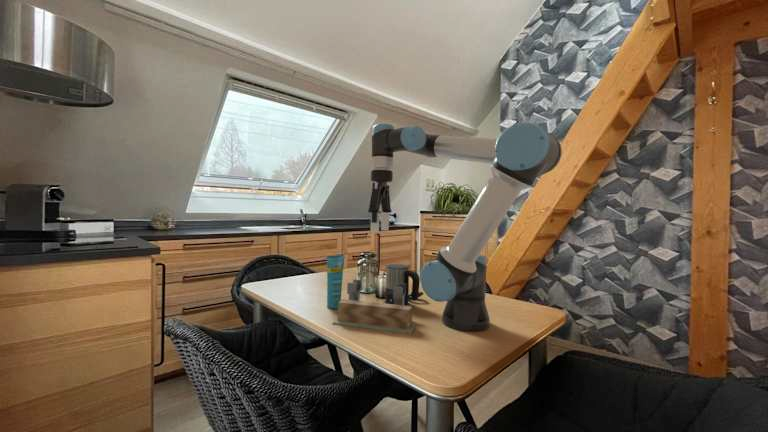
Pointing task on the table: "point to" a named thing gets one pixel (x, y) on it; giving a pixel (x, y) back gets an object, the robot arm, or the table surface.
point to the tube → (334, 279)
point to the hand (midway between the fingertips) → (379, 231)
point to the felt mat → (375, 326)
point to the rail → (375, 313)
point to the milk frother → (401, 275)
